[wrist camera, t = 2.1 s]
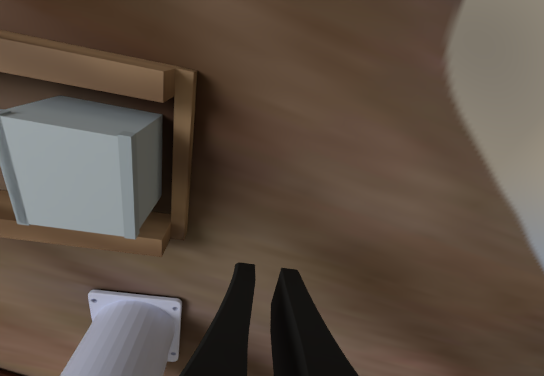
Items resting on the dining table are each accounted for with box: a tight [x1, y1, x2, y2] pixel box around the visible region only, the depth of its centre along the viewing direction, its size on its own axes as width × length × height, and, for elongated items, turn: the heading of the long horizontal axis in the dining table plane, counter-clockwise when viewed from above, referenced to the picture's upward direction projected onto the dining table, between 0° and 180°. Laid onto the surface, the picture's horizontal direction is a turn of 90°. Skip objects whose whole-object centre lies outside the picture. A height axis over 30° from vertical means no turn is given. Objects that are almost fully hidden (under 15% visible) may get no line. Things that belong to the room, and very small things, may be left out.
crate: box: [0, 95, 162, 239], centre depth 16 cm, size 6×6×5 cm
